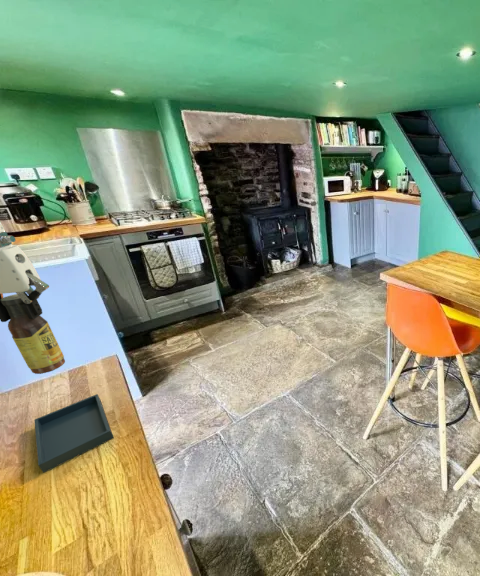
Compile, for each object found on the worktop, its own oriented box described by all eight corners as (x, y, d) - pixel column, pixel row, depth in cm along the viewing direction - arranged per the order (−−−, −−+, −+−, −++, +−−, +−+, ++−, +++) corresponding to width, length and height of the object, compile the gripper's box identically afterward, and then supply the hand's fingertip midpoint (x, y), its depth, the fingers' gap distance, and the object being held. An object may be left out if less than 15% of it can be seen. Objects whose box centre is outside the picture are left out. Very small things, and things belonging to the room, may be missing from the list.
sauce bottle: (64, 369, 76) (28, 299, 68) (28, 378, 73) (-14, 306, 65) (69, 356, 81) (36, 289, 73) (35, 364, 78) (-3, 295, 69)
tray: (38, 426, 77) (34, 419, 76) (100, 400, 86) (97, 393, 85) (43, 472, 67) (38, 465, 66) (113, 437, 75) (110, 430, 74)
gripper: (45, 236, 69) (76, 306, 76) (-54, 240, 64) (-11, 314, 72) (19, 245, 62) (57, 321, 70) (-93, 250, 58) (-40, 330, 65)
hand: (22, 317), depth 71 cm, fingers closed on sauce bottle, 4 cm apart
